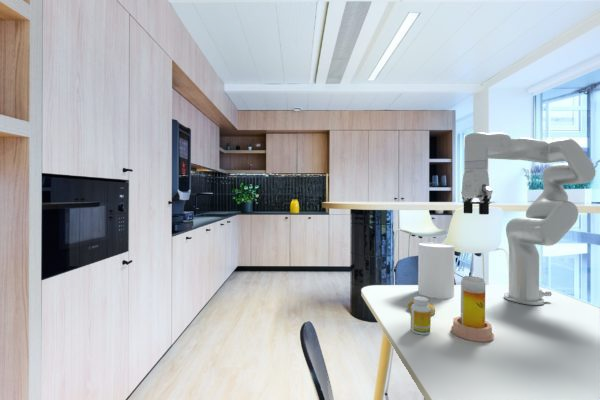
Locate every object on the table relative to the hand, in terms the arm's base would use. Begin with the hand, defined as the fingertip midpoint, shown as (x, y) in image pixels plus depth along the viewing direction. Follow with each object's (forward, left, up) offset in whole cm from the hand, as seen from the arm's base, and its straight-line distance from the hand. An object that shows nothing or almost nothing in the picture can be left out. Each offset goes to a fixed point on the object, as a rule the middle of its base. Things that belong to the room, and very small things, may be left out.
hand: (475, 213), depth 115 cm
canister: (+8, -14, -34) cm, 37 cm away
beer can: (+16, +25, -33) cm, 44 cm away
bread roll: (+23, +7, -34) cm, 41 cm away
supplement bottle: (+30, +23, -34) cm, 51 cm away
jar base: (+16, +25, -33) cm, 45 cm away
